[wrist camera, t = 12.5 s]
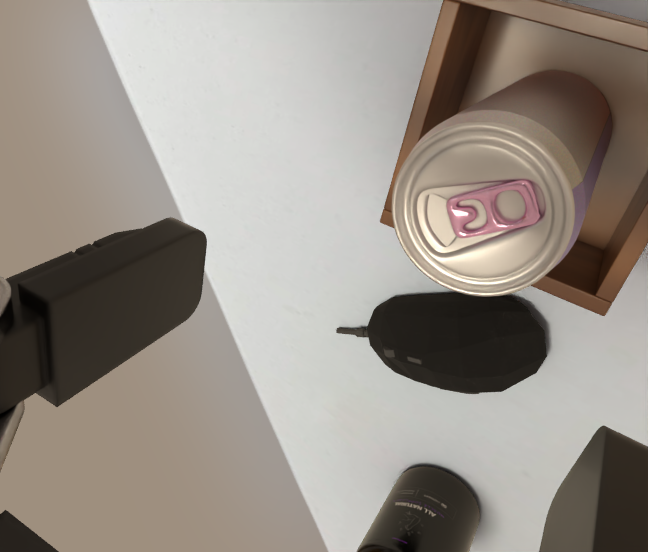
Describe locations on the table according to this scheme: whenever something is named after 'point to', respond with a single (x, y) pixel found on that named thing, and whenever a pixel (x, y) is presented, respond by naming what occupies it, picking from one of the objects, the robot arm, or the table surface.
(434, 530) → the supplement bottle
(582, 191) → the beverage can
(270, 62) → the table surface
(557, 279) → the wooden crate
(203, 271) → the robot arm
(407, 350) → the gaming mouse
